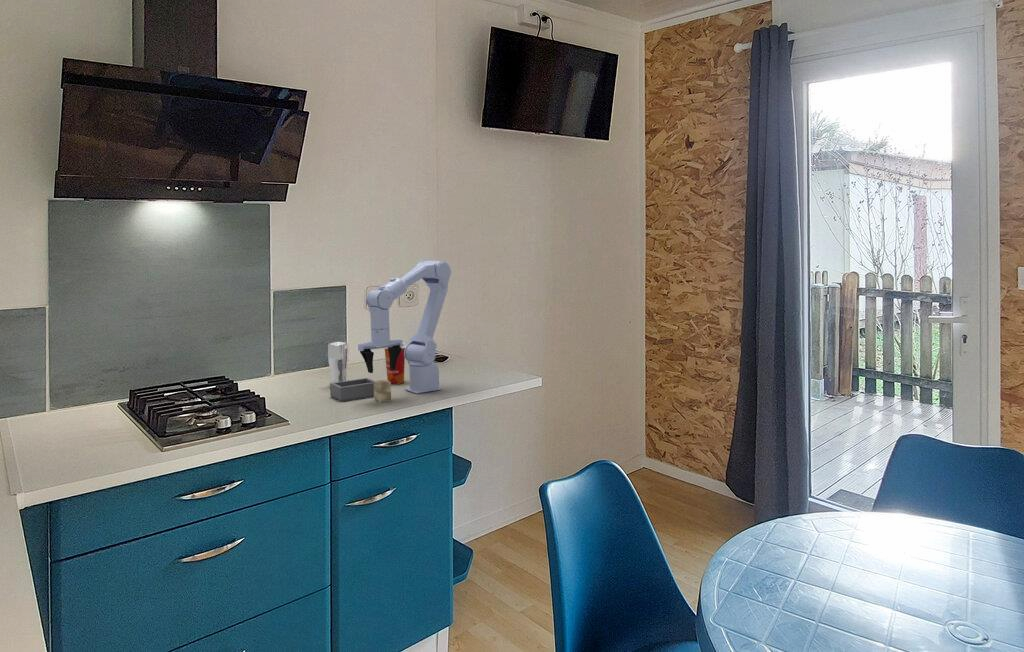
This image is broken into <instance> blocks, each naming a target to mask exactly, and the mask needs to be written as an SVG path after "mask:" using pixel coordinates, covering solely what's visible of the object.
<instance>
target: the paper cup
mask: <svg viewBox="0 0 1024 652" xmlns="http://www.w3.org/2000/svg"><path fill="white" fill-rule="evenodd" d="M406 346H407V345H406V344H405V342H403V346H400V347H401V348H402V350H401V352H400V354H399V356H398V359H397V362H396V367H395V370H391V369H390V357H389V351H388V348H384V356H385V357H384V358H385V368H386V377H387V379H386V380H387V381H390V382H391V383H392V384H391V385H399V384H398V383H401V384H404V383H405V360H406V359H405V357H404V350H405V347H406ZM403 382H404V383H403Z"/></svg>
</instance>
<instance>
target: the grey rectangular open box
mask: <svg viewBox="0 0 1024 652" xmlns="http://www.w3.org/2000/svg"><path fill="white" fill-rule="evenodd" d="M373 381H375V380H374V379H371V378H368V377H363V378H357V379H350V380H348V381H341V382H334V383H331V382H330V383H329V390H330V391H329V392H330V393H329V394H330V395H329V396H331V397H330V398H332V397H333V398H332V399H334V398H335V399H334V400H336V399H337V400H336V401H338V400H339V401H338V402H340V401H341V402H340V403H342V401H343V402H348V400H349V401H354V400H353V399H356V400H361V399H360V398H362V399H366V398H365V397H368V398H372V397H371V396H374V382H373Z"/></svg>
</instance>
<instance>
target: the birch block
mask: <svg viewBox="0 0 1024 652" xmlns="http://www.w3.org/2000/svg"><path fill="white" fill-rule="evenodd" d="M373 382H374V397H373V400H374V399H375V400H374V401H376V400H377V402H378V401H379V402H378V403H381V402H380V401H384V402H387V401H386V400H390V401H392V386H391V385H392V384H391V382H390V381H388V379H379V380H374V381H373Z"/></svg>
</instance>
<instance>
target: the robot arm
mask: <svg viewBox="0 0 1024 652" xmlns="http://www.w3.org/2000/svg"><path fill="white" fill-rule="evenodd" d="M451 275H452V270H451V267H450V265H449V263H448V262H447V261H446V260H427V259H424V260H421V261H420V262H418V263H416V266H415V267H413V268H412V269H411V270H409V271H408V272H407V273H406V274H404V275H403V276H402V277H391V278H390V279H389V281H388V282H387V283H385V284H384V285H380V286H379V288H378V289H372V290H371V291H370V292H369V293H367V296H366V299H365V303H366V306H367V307H368V312H369V314H370V336H371V337H370V339H371V341H370V342H363V343H358V344H357V350H358V351H359V352H360V355H361V357H362V358H363V360H364V362H365V365H366V369H367V372H368V373H370V374H373V372H374V363H373V362H374V352H373V351H372V350H377V349H385V348H388V351H389V357H390V369H391V370H395V367H396V362H397V359H398V356H399V354H400V352H401V350H402V348H401V347H400V346H403V343H404V340H403V339H391V334H390V332H391V331H390V308H391V307H392V305H393V302H394V301H395V300H397V299H399V297H401V296H402V295H404V294H405V293H406V292H407V288H408V287H410V286H412V285H414V283H417V282H418V281H420V280H422V281H423V282H424V284H425V285H426V286H427V287H428V288H429V290H430V291H429V293H428V298H427V301H426V304H425V305H424V306H425V307H424V309H423V312H422V316H421V320H420V323H419V326H418V329H417V332H416V334H414V335H413V336H411V338H409V341H408V344H407V345H405V346H406V347H405V350H404V357H405V360H406V361H407V364H408V365H409V369H408V370H409V386H408V387H405V388H404V390H406V391H409V392H410V393H412V394H413V393H414V394H422V393H429V392H434V391H440V390H441V388H440V371H439V367H438V365H437V363H436V362H434V361H435V360H436V356H437V355H436V354H437V353H436V351H437V347H438V345H437V343H436V341H435V340H434V336H435V332H436V328H437V325H438V323H439V319H440V315H441V312H442V309H443V306H444V303H445V299H446V296H447V293H448V290H449V282H450V278H451Z"/></svg>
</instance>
